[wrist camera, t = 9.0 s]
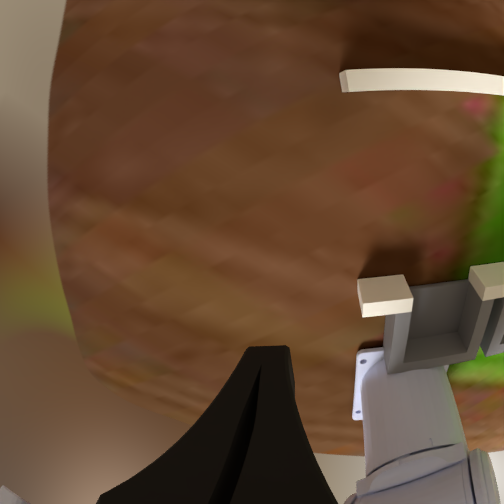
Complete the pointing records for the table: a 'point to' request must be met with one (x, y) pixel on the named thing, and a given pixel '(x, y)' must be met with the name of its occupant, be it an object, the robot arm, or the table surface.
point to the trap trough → (439, 294)
